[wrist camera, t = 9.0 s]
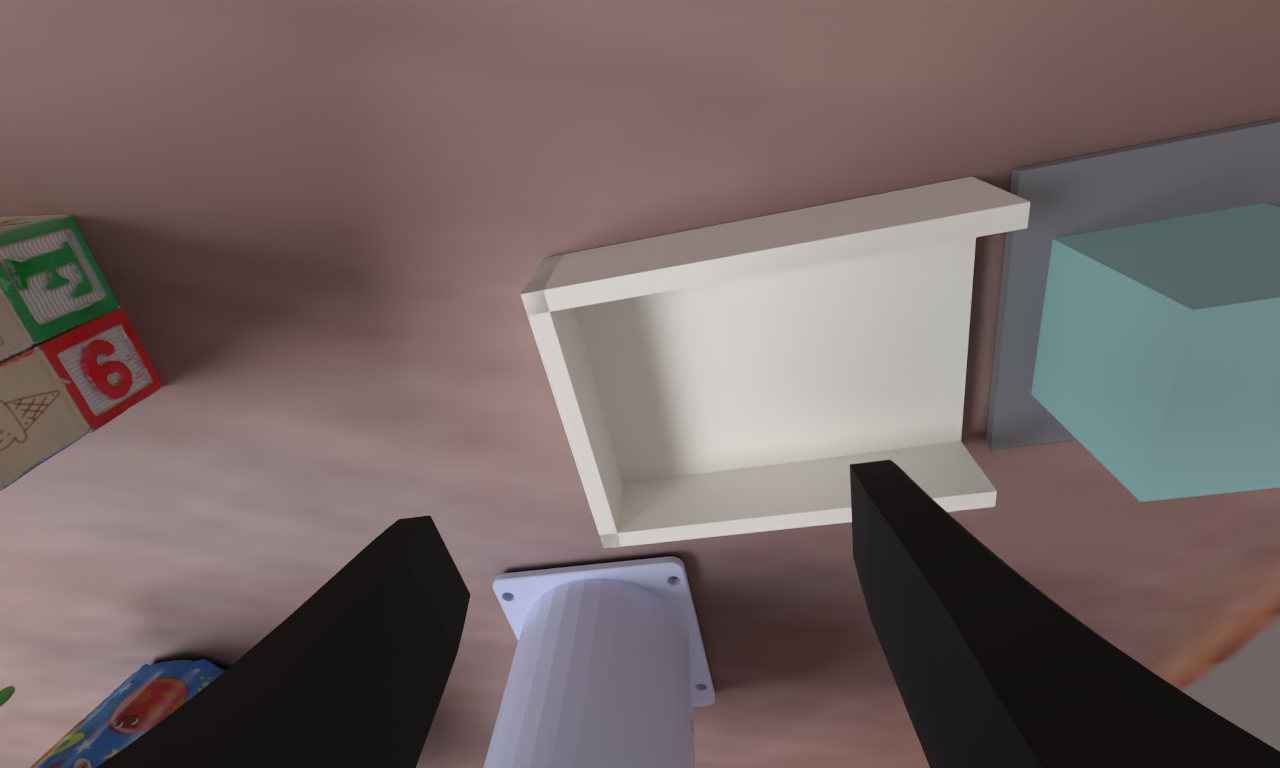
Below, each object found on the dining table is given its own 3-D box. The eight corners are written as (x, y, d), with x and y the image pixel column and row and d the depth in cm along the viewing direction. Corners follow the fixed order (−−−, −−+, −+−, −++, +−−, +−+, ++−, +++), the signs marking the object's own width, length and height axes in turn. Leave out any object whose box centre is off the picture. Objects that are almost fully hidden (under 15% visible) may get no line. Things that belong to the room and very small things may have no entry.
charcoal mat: (1219, 414, 19) (1229, 420, 18) (985, 443, 20) (990, 450, 19) (1318, 110, 14) (1335, 111, 14) (1012, 168, 15) (1020, 171, 15)
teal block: (1211, 370, 17) (1387, 476, 13) (1031, 394, 18) (1140, 502, 14) (1263, 203, 15) (1498, 265, 11) (1052, 238, 16) (1193, 310, 11)
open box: (953, 446, 20) (995, 506, 17) (612, 488, 22) (603, 548, 19) (971, 176, 15) (1030, 201, 13) (544, 257, 17) (520, 294, 15)
